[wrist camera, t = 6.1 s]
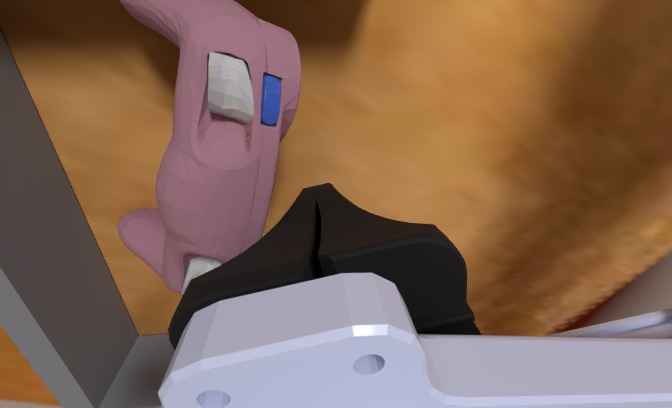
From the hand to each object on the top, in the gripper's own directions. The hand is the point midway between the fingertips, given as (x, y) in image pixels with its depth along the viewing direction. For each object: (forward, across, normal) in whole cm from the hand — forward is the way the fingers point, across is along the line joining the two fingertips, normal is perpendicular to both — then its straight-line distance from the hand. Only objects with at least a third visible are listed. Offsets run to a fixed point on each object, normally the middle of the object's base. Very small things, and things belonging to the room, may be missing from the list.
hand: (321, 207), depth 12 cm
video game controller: (+2, +4, -3) cm, 5 cm away
